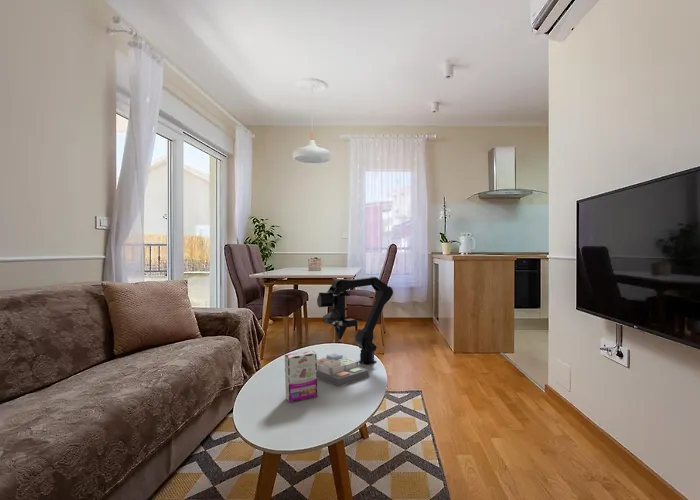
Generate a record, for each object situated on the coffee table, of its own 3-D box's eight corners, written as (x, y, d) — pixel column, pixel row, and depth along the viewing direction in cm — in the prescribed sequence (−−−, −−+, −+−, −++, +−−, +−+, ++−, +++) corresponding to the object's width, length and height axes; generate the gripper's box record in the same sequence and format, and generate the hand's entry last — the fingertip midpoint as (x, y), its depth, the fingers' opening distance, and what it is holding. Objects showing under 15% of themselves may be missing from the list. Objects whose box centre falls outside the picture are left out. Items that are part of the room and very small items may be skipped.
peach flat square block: (323, 363, 167) (323, 358, 167) (330, 365, 163) (330, 361, 163) (313, 365, 164) (313, 361, 164) (320, 368, 160) (320, 363, 160)
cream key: (333, 363, 162) (332, 359, 162) (340, 366, 158) (340, 361, 158) (323, 366, 158) (323, 361, 158) (331, 369, 154) (331, 364, 154)
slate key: (335, 357, 172) (335, 352, 172) (342, 359, 168) (342, 354, 168) (326, 359, 168) (326, 354, 168) (333, 361, 164) (333, 357, 164)
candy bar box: (312, 392, 142) (312, 350, 142) (317, 397, 137) (317, 353, 137) (284, 398, 136) (284, 354, 136) (288, 403, 132) (288, 357, 132)
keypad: (336, 365, 175) (336, 353, 175) (368, 376, 159) (368, 364, 159) (306, 373, 164) (306, 361, 164) (338, 386, 147) (338, 373, 147)
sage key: (345, 363, 166) (345, 358, 166) (353, 366, 163) (353, 361, 163) (336, 365, 163) (336, 361, 163) (344, 368, 159) (344, 363, 159)
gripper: (313, 305, 175) (314, 338, 174) (339, 310, 161) (339, 345, 160) (332, 303, 182) (332, 334, 182) (357, 307, 168) (358, 341, 168)
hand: (339, 339), depth 173 cm, fingers closed
